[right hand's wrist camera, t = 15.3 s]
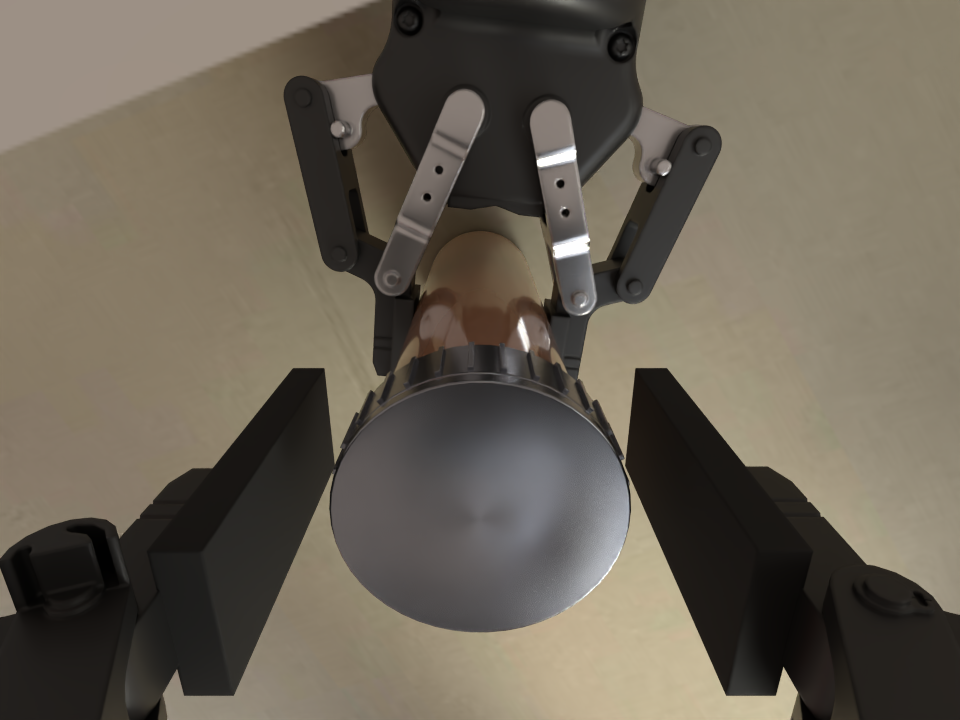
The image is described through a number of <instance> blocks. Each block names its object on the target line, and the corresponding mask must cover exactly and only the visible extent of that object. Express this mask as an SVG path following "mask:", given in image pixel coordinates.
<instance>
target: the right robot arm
mask: <svg viewBox="0 0 960 720" xmlns="http://www.w3.org/2000/svg"><path fill="white" fill-rule="evenodd" d="M334 466H335V463H334V454H333V445H332V435H331V426H330V416H329V407H328V398H327V388H326V379H325V369H324V368H293V369H292V370H291V371H290V373H289V374H288V375H287V376H286V378H285V379H284V380H283V381H282V383H281V384H280V385H279V386H278V388H277V389H276V390H275V391H274V393H273V394H272V395H271V396H270V398H269V399H268V400H267V401H266V403H265V404H264V405H263V406H262V408H261V409H260V410H259V411H258V413H257V414H256V415H255V416H254V418H253V419H252V420H251V421H250V423H249V424H248V425H247V426H246V428H245V429H244V430H243V431H242V433H241V434H240V435H239V436H238V438H237V439H236V440H235V441H234V443H233V444H232V445H231V446H230V448H229V449H228V450H227V451H226V453H225V454H224V455H223V456H222V458H221V459H220V460H219V461H218V463H217V464H216V465H215V466H214V468H193V469H191V470H189V471H188V472H186V473H185V474H183V475H181V476H180V477H178V478H177V479H175V480H173V481H172V482H170V483H169V484H168V485H167V486H166V487H165V488H164V489H163V490H162V491H161V493H160V494H159V495H158V496H157V497H156V498H155V499H154V500H153V504H150V505H149V506H148V507H147V508H146V509H145V510H144V512H143V513H142V514H141V515H140V519H136V521H135V522H134V523H133V524H132V525H131V526H130V527H129V528H128V530H127V531H126V532H125V533H124V534H123V535H122V536H121V537H120V538H119V537H118V533H117V530H116V526H114V525H113V524H112V523H110V522H109V521H107V520H104V519H97V518H82V519H73V520H68V521H65V522H61V523H58V524H54V525H51V526H48V527H46V528H43V529H41V530H39V531H37V532H35V533H33V534H30V535H28V536H26V537H25V538H23V539H22V540H21V541H19V542H18V543H16V544H15V545H13V546H12V547H10V548H9V549H8V550H7V551H6V553H5V554H4V555H3V556H2V557H1V559H0V569H1V571H2V574H3V577H4V579H5V582H6V585H7V587H8V590H9V592H10V595H11V598H12V600H13V603H14V606H15V608H16V611H17V612H16V614H13V615H10V616H5V617H1V618H0V720H167V712H166V706H165V702H164V698H163V695H162V694H163V692H164V691H165V689H166V687H167V685H168V684H169V682H170V680H171V678H172V677H173V675H174V673H175V671H176V670H178V674H179V678H180V681H181V685H182V689H183V693H184V696H234V694H235V692H236V689H237V687H238V685H239V683H240V680H241V678H242V676H243V673H244V671H245V669H246V667H247V664H248V662H249V660H250V658H251V655H252V653H253V651H254V648H255V646H256V644H257V642H258V639H259V637H260V635H261V632H262V630H263V628H264V626H265V623H266V621H267V619H268V617H269V614H270V612H271V610H272V607H273V605H274V603H275V601H276V598H277V596H278V594H279V592H280V589H281V587H282V585H283V582H284V580H285V578H286V576H287V573H288V571H289V569H290V566H291V564H292V562H293V560H294V557H295V555H296V553H297V551H298V548H299V546H300V544H301V541H302V539H303V537H304V535H305V532H306V530H307V528H308V526H309V523H310V521H311V519H312V516H313V514H314V512H315V510H316V507H317V505H318V503H319V500H320V498H321V496H322V494H323V491H324V489H325V487H326V485H327V482H328V480H329V478H330V475H331V473H332V471H333V468H334ZM625 466H626V469H627V471H628V473H629V475H630V478H631V480H632V482H633V485H634V487H635V489H636V491H637V494H638V496H639V498H640V500H641V503H642V505H643V507H644V510H645V512H646V514H647V516H648V519H649V521H650V523H651V526H652V528H653V530H654V532H655V535H656V537H657V539H658V541H659V544H660V546H661V548H662V551H663V553H664V555H665V557H666V560H667V562H668V564H669V566H670V569H671V571H672V573H673V576H674V578H675V580H676V582H677V585H678V587H679V589H680V592H681V594H682V596H683V598H684V601H685V603H686V605H687V607H688V610H689V612H690V614H691V617H692V619H693V621H694V623H695V626H696V628H697V630H698V632H699V635H700V637H701V639H702V642H703V644H704V646H705V648H706V651H707V653H708V655H709V658H710V660H711V662H712V664H713V667H714V669H715V671H716V673H717V676H718V678H719V680H720V683H721V685H722V687H723V689H724V692H725V694H726V696H776V693H777V689H778V685H779V681H780V678H781V674H782V670H783V667H784V668H785V670H786V672H787V674H788V675H789V677H790V679H791V681H792V682H793V684H794V686H795V688H796V689H797V691H798V695H797V698H796V702H795V705H794V709H793V712H792V716H791V720H960V615H957V614H953V613H949V612H945V611H943V610H942V608H941V607H940V606H939V604H938V603H937V601H936V600H935V599H934V597H933V596H932V595H930V594H929V593H928V592H927V591H925V590H924V589H923V588H921V587H920V586H919V585H918V584H916V583H915V582H913V581H911V580H909V579H907V578H905V577H903V576H901V575H899V574H897V573H895V572H892V571H889V570H886V569H883V568H880V567H877V566H872V565H866V563H865V562H864V561H863V560H862V559H861V558H860V557H859V556H858V555H857V553H856V552H855V551H854V550H853V549H852V548H851V547H850V546H849V545H848V543H847V542H846V541H845V540H844V539H843V538H842V537H841V536H840V535H839V533H838V532H837V531H836V530H835V529H834V528H833V527H832V526H831V525H830V523H829V522H828V521H827V520H826V519H825V518H824V517H821V516H820V512H819V511H818V510H817V509H816V508H815V507H814V506H813V505H812V503H811V502H807V498H806V497H805V496H804V495H803V493H802V492H801V491H800V490H799V489H798V488H797V487H796V486H795V485H794V483H793V482H792V481H790V480H789V479H787V478H785V477H784V476H782V475H780V474H779V473H777V472H776V471H774V470H772V469H771V468H769V467H746V466H745V465H744V464H743V463H742V461H741V460H740V459H739V458H738V456H737V455H736V454H735V453H734V451H733V450H732V449H731V448H730V446H729V445H728V444H727V443H726V441H725V440H724V439H723V438H722V436H721V435H720V434H719V433H718V431H717V430H716V429H715V428H714V426H713V425H712V424H711V423H710V421H709V420H708V419H707V418H706V416H705V415H704V414H703V413H702V411H701V410H700V409H699V408H698V406H697V405H696V404H695V403H694V401H693V400H692V399H691V398H690V396H689V395H688V394H687V393H686V391H685V390H684V389H683V388H682V386H681V385H680V384H679V383H678V381H677V380H676V379H675V378H674V376H673V375H672V374H671V373H670V371H669V370H668V369H667V368H636V369H635V379H634V388H633V398H632V407H631V416H630V426H629V435H628V445H627V454H626V463H625Z"/></svg>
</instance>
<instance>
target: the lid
mask: <svg viewBox="0 0 960 720" xmlns="http://www.w3.org/2000/svg"><path fill="white" fill-rule="evenodd" d="M340 448H342V450H341V452H340V455H339V457H338V459H337V462H336V464H335V466H334V468H333V472H332V474H334V477H333V481H332V486H331V491H330V506H329V510H330V519H331V526H332V530H333V534H334V538H335V541H336V544H337V546H338V548H339V551H340V553H341V555H342V557H343V559H344V561H345V562H346V564H347V566H348V567H349V569H350V571H351V572H352V573H353V574H354V576H355V577H356V578H357V579H358V580H359V582H360V583H361V584H362V585H363V586H364V587H365V588H366V589H367V590H368V591H369V592H370V593H371V594H373V595H374V596H375V597H376V598H378V599H379V600H380V601H382V602H383V603H384V604H386V605H387V606H389V607H391V608H392V609H394V610H396V611H397V612H399V613H401V614H403V615H405V616H407V617H410V618H412V619H414V620H416V621H419V622H422V623H425V624H428V625H432V626H435V627H439V628H444V629H449V630H455V631H464V632H496V631H506V630H511V629H516V628H521V627H525V626H529V625H532V624H535V623H538V622H541V621H544V620H546V619H548V618H551V617H553V616H555V615H558V614H559V613H561V612H563V611H565V610H566V609H568V608H570V607H572V606H573V605H575V604H576V603H577V602H579V601H580V600H581V599H583V598H584V597H586V596H587V595H588V594H589V593H590V592H591V591H592V590H593V589H594V588H595V587H596V586H597V585H598V584H599V583H600V582H601V581H602V580H603V578H604V577H605V576H606V575H607V574H608V572H609V571H610V569H611V568H612V566H613V565H614V563H615V561H616V560H617V558H618V556H619V554H620V552H621V549H622V547H623V545H624V542H625V539H626V535H627V532H628V528H629V522H630V514H631V498H630V489H629V480H628V477H627V475H626V473H625V470H624V467H623V465H622V462H621V460H623V459H624V456H623V453H622V451H621V449H620V447H619V444H618V442H617V440H616V438H615V435H614V433H613V431H612V429H611V426H610V424H609V423H608V422H607V419H606V417H605V415H604V413H603V410H602V408H601V406H600V404H599V402H598V400H595V401H593V400H592V399H591V397H590V396H589V395H588V393H587V392H586V390H585V387H584V385H583V382H582V381H581V380H580V379H578V380H577V381H575V380H574V379H573V378H572V377H571V376H570V375H568V374H567V373H566V372H564V371H563V370H562V368H561V365H560V364H559V363H557V362H556V363H555V364H552V363H550V362H549V361H547V360H545V359H543V358H541V357H538V356H536V355H535V353H534V351H532V350H529V351H528V352H525V351H521V350H517V349H514V348H510V347H505V343H499V346H495V345H475V344H474V342H469V345H465V346H457V347H451V348H447V349H445V347H444V346H441V347H439V349H438V351H435V352H432V353H430V354H427V355H425V356H422V357H419V358H417V357H416V356H414V357H412V358H411V360H410V363H408V364H406V365H404V366H403V367H401V368H400V369H399V370H397V371H396V372H395V373H392V371H390V372H389V373H387V375H386V378H385V380H384V382H383V383H382V384H381V385H380V386H379V387H378V388H377V389H376V390H375V391H374V392H373V391H371V390H370V391H369V393H368V394H367V397H366V399H365V401H364V403H363V406H362V408H361V410H360V413H357V412H356V413H355V415H354V418H353V420H352V422H351V424H350V427H349V429H348V431H347V433H346V436H345V438H344V440H343V442H342V444H341V447H340Z"/></svg>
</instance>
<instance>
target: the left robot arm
mask: <svg viewBox="0 0 960 720" xmlns="http://www.w3.org/2000/svg"><path fill="white" fill-rule="evenodd" d="M645 4H646V0H393V6H392V22H391V29H390V33H389V37H388V40H387V43H386V45H385V47H384V49H383V51H382V53H381V55H380V56H379V58H378V59H377V61H376V63H375V66H374V69H373V73H372V74H365V75H359V76H352V77H346V78H340V79H333V80H327V81H319V80H316V79H313V78H310V77H307V76H297V77H294V78H292V79H291V80H290V81H289V82H288V83H287V85H286V86H285V89H284V101H285V106H286V110H287V114H288V118H289V122H290V126H291V131H292V135H293V139H294V143H295V147H296V151H297V156H298V160H299V164H300V168H301V172H302V177H303V181H304V185H305V189H306V193H307V197H308V202H309V206H310V210H311V214H312V218H313V222H314V227H315V231H316V235H317V239H318V243H319V247H320V252H321V256H322V259H323V261H324V263H325V264H326V265H327V266H328V267H329V268H330V269H332V270H334V271H338V272H344V271H347V272H349V273H351V274H353V275H355V276H357V277H359V278H361V279H363V280H365V281H366V282H367V283H368V284H369V285H370V286H371V287H372V289H373V291H374V293H375V298H376V303H375V325H374V348H373V364H374V367H375V370H376V372H377V375H379V376H386V375H387V373H389V372H390V371H392V373H393V371H394V368H395V366H396V363H397V360H398V358H399V355H400V352H401V349H402V347H403V344H404V341H405V338H406V336H407V333H408V330H409V328H410V325H411V322H412V319H413V317H414V314H415V311H416V308H417V306H418V303H419V298H420V285H416V284H415V274H416V270H417V268H418V265H419V263H420V261H421V259H422V256H423V254H424V252H425V250H426V248H427V245H428V243H429V241H430V239H431V236H432V234H433V232H434V230H435V228H436V225H437V223H438V221H439V219H440V217H441V214H442V212H443V210H444V208H445V206H446V203H447V204H448V207H453V208H462V209H478V208H484V207H490V206H498V207H501V208H503V209H506V210H508V211H511V212H513V213H516V214H518V215H524V216H533V217H539V218H540V223H541V228H542V232H543V236H544V240H545V244H546V249H547V254H548V259H549V264H550V269H551V274H552V279H553V284H554V285H553V292H552V298H551V299H545V302H544V310H545V313H546V316H547V318H548V321H549V324H550V327H551V329H552V332H553V335H554V337H555V340H556V343H557V346H558V348H559V351H560V354H561V357H562V359H563V362H564V365H565V367H566V370H567V373H568V375H570V376H571V377H572V378H573V379H574V380H575V381H577V378H578V373H579V367H580V362H581V356H582V351H583V346H584V340H585V335H586V329H587V324H588V320H589V318H590V316H591V315H592V314H593V312H594V311H596V310H597V309H598V308H600V307H602V306H605V305H609V304H613V303H617V302H622V301H624V302H626V303H629V304H637V303H640V302H642V301H644V300H645V299H646V298H647V297H648V296H649V295H650V293H651V291H652V289H653V287H654V285H655V283H656V281H657V279H658V277H659V275H660V273H661V271H662V269H663V267H664V264H665V262H666V260H667V258H668V256H669V254H670V252H671V250H672V248H673V246H674V244H675V242H676V240H677V238H678V236H679V234H680V232H681V230H682V228H683V226H684V224H685V222H686V220H687V218H688V216H689V214H690V212H691V210H692V208H693V206H694V204H695V202H696V200H697V198H698V196H699V194H700V191H701V189H702V187H703V185H704V183H705V181H706V179H707V177H708V175H709V173H710V171H711V169H712V167H713V165H714V163H715V161H716V159H717V157H718V155H719V153H720V150H721V145H722V141H721V137H720V134H719V133H718V131H717V130H716V129H714V128H713V127H711V126H702V125H686V124H684V123H681V122H679V121H677V120H674V119H672V118H669V117H667V116H665V115H662V114H660V113H658V112H655V111H653V110H651V109H648V108H646V107H643V97H642V93H641V89H640V86H639V83H638V79H637V74H636V52H637V46H638V41H639V36H640V31H641V25H642V20H643V14H644V9H645ZM378 107H379V108H380V109H381V111H382V113H383V115H384V116H385V118H386V120H387V122H388V123H389V125H390V127H391V128H392V130H393V132H394V134H395V135H396V137H397V139H398V140H399V142H400V144H401V146H402V147H403V149H404V151H405V152H406V154H407V156H408V158H409V159H410V161H411V163H412V165H413V166H414V168H415V170H416V171H417V172H416V174H415V177H414V179H413V182H412V184H411V186H410V189H409V191H408V193H407V196H406V198H405V200H404V203H403V205H402V207H401V210H400V212H399V215H398V217H397V220H396V223H395V227H394V229H393V232H392V234H391V236H390V239H389V241H388V243H386V242H384V241H382V240H380V239H378V238H376V237H374V236H372V235H370V234H369V232H368V227H367V222H366V217H365V212H364V208H363V203H362V198H361V193H360V188H359V183H358V179H357V174H356V169H355V164H354V159H353V154H352V149H354V148H357V147H359V146H360V145H361V144H362V143H363V142H364V140H365V138H366V134H367V127H366V124H367V119H368V116H369V115H370V113H371V112H372V111H373V110H374V109H376V108H378ZM627 138H629V139H630V140H631V141H632V142H633V144H634V147H635V157H634V161H633V173H634V175H635V177H636V178H637V179H638V180H639V181H641V182H642V184H641V186H640V188H639V190H638V192H637V195H636V197H635V199H634V201H633V203H632V206H631V208H630V210H629V212H628V214H627V217H626V219H625V221H624V223H623V225H622V228H621V230H620V232H619V234H618V236H617V239H616V241H615V243H614V245H613V247H612V250H611V252H610V254H609V256H608V258H607V261H603V262H599V263H595V264H592V263H591V257H590V251H589V244H590V239H589V231H588V225H587V219H586V213H585V207H584V201H583V195H582V189H581V188H582V187H583V186H584V184H585V183H586V182H587V181H588V180H589V179H590V178H591V177H592V176H593V175H594V174H595V173H596V172H597V171H598V169H599V168H600V167H601V166H602V165H603V164H604V163H605V162H606V161H607V160H608V159H609V158H610V157H611V156H612V154H613V153H614V152H615V151H616V150H617V149H618V148H619V147H620V146H621V145H622V144H623V143H624V142H625V141H626V139H627Z"/></svg>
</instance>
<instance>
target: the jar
mask: <svg viewBox="0 0 960 720" xmlns="http://www.w3.org/2000/svg"><path fill="white" fill-rule="evenodd" d="M469 342H474V344H475V345H495V346H499V343H505V347H510V348H514V349H517V350H521V351H525V352H528V351H529V350H532V351H534V353H535V355H536V356H538V357H541V358H543V359H545V360H547V361H549V362H550V363H552V364H555V363H556V362H557V363H559V364H560V365H561V368H562V370H563V371H564V372H566V373H567V370H566V367H565V365H564V362H563V359H562V357H561V354H560V351H559V348H558V346H557V343H556V340H555V337H554V335H553V332H552V329H551V327H550V324H549V321H548V318H547V316H546V313H545V310H544V307H543V305H542V302H541V299H540V297H539V294H538V291H537V288H536V286H535V283H534V280H533V277H532V275H531V272H530V269H529V266H528V264H527V261H526V259H525V257H524V255H523V254H522V252H521V251H520V250H519V248H518V247H517V246H516V245H515V244H514V243H512V242H511V241H510V240H508V239H507V238H505V237H503V236H501V235H499V234H496V233H492V232H487V231H473V232H468V233H464V234H462V235H459V236H457V237H455V238H454V239H452V240H451V241H449V242H448V243H447V244H446V245H445V246H444V247H443V248H442V249H441V250H440V251H439V253H438V254H437V256H436V258H435V260H434V262H433V265H432V267H431V270H430V273H429V276H428V278H427V281H426V284H425V287H424V289H423V292H422V295H421V297H420V300H419V303H418V306H417V308H416V311H415V314H414V317H413V319H412V322H411V325H410V328H409V330H408V333H407V336H406V338H405V341H404V344H403V347H402V349H401V352H400V355H399V358H398V360H397V363H396V366H395V368H394V371H393V373H395V372H396V371H397V370H399V369H400V368H401V367H403V366H404V365H406V364H408V363H410V360H411V358H412V357H414V356H416V357H417V358H419V357H422V356H425V355H427V354H430V353H432V352H435V351H438V349H439V347H441V346H444V347H445V349H447V348H451V347H457V346H465V345H469ZM567 374H568V373H567Z"/></svg>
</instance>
